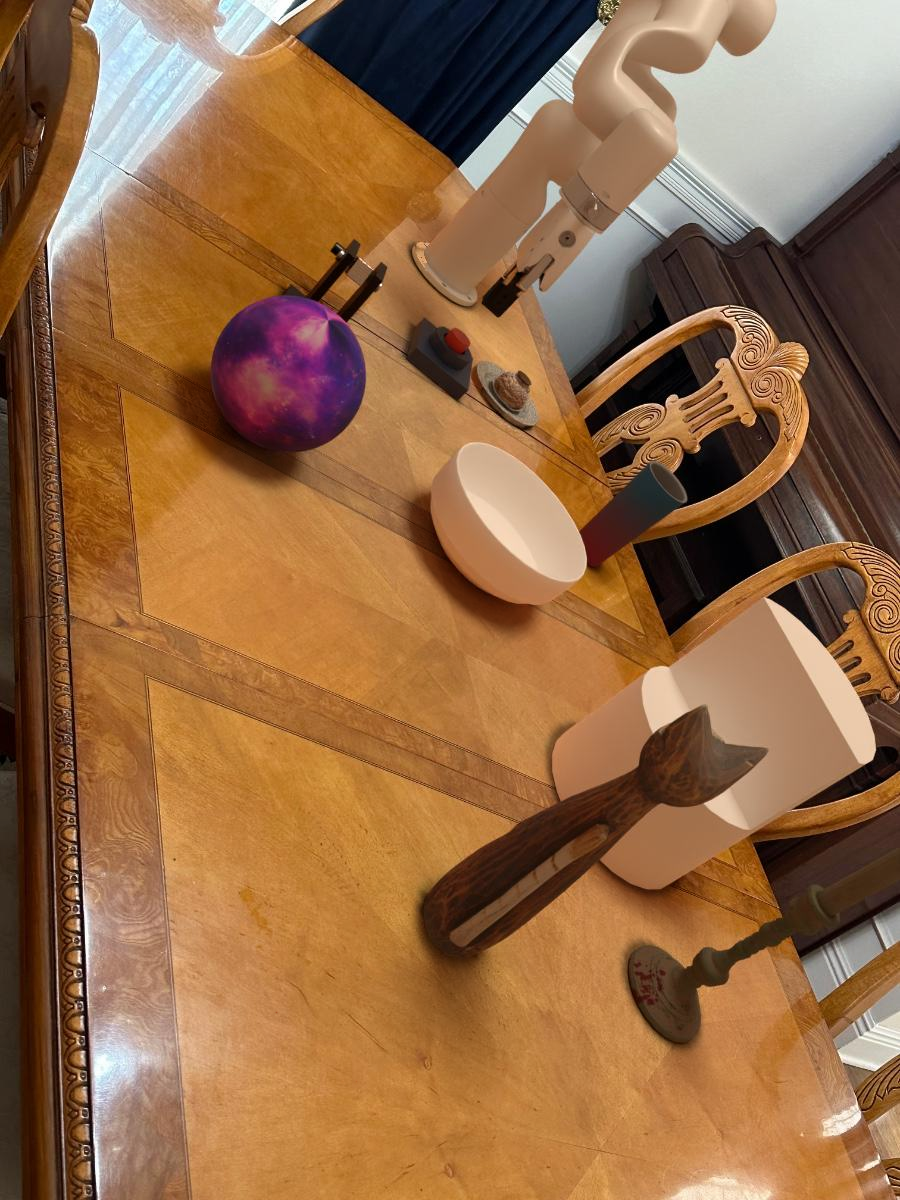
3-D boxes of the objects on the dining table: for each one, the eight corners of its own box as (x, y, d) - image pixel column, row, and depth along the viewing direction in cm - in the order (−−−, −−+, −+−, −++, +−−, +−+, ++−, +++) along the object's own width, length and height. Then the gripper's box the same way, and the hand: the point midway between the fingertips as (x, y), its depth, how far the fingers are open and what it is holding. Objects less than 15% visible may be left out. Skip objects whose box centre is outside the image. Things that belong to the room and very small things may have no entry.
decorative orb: (156, 360, 114) (242, 248, 106) (265, 376, 126) (349, 277, 118) (223, 480, 109) (318, 372, 102) (329, 485, 121) (421, 389, 114)
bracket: (285, 290, 141) (344, 218, 135) (343, 337, 144) (403, 269, 138) (268, 324, 133) (330, 249, 127) (330, 373, 136) (393, 302, 130)
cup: (602, 552, 158) (685, 483, 151) (603, 581, 153) (689, 511, 145) (566, 523, 156) (648, 451, 149) (566, 551, 151) (651, 479, 143)
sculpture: (500, 930, 97) (784, 745, 82) (452, 985, 90) (756, 792, 75) (450, 864, 98) (723, 669, 83) (398, 913, 90) (688, 708, 76)
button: (445, 332, 157) (453, 323, 157) (462, 347, 159) (471, 339, 158) (443, 342, 155) (451, 333, 154) (461, 358, 156) (469, 349, 155)
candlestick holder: (620, 934, 108) (890, 772, 93) (685, 963, 113) (952, 813, 98) (637, 1028, 102) (930, 870, 87) (705, 1055, 106) (995, 908, 91)
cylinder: (640, 744, 133) (816, 620, 121) (702, 896, 122) (903, 777, 110) (530, 715, 121) (714, 573, 108) (588, 881, 110) (800, 746, 98)
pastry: (462, 378, 162) (484, 355, 159) (485, 358, 172) (506, 336, 170) (522, 440, 163) (544, 418, 160) (541, 416, 173) (563, 395, 171)
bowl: (553, 586, 142) (603, 544, 138) (508, 653, 125) (562, 608, 121) (443, 468, 141) (489, 423, 137) (381, 520, 124) (432, 470, 120)
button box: (414, 327, 161) (432, 307, 159) (463, 368, 164) (482, 349, 162) (406, 358, 153) (425, 337, 151) (457, 401, 156) (477, 381, 154)
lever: (327, 253, 143) (339, 238, 142) (365, 285, 145) (377, 270, 144) (332, 263, 132) (345, 246, 131) (373, 297, 134) (386, 281, 133)
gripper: (613, 243, 139) (509, 350, 148) (607, 204, 151) (512, 305, 160) (567, 201, 136) (464, 312, 145) (566, 165, 149) (471, 269, 157)
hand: (489, 308), depth 153 cm, fingers closed
